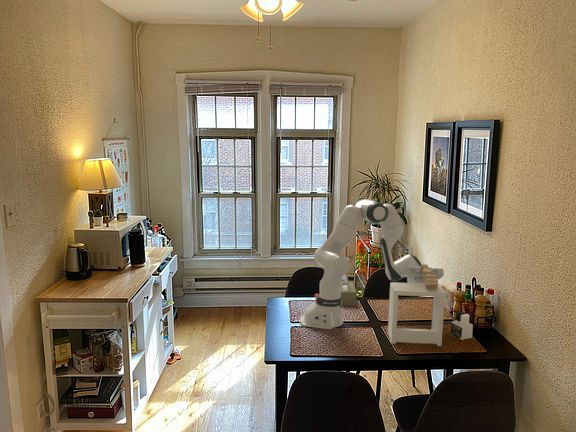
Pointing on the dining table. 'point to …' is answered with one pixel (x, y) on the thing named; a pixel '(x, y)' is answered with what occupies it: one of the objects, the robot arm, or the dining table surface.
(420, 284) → the white stand
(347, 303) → the tissue box
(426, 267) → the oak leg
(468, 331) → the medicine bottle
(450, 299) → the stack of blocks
